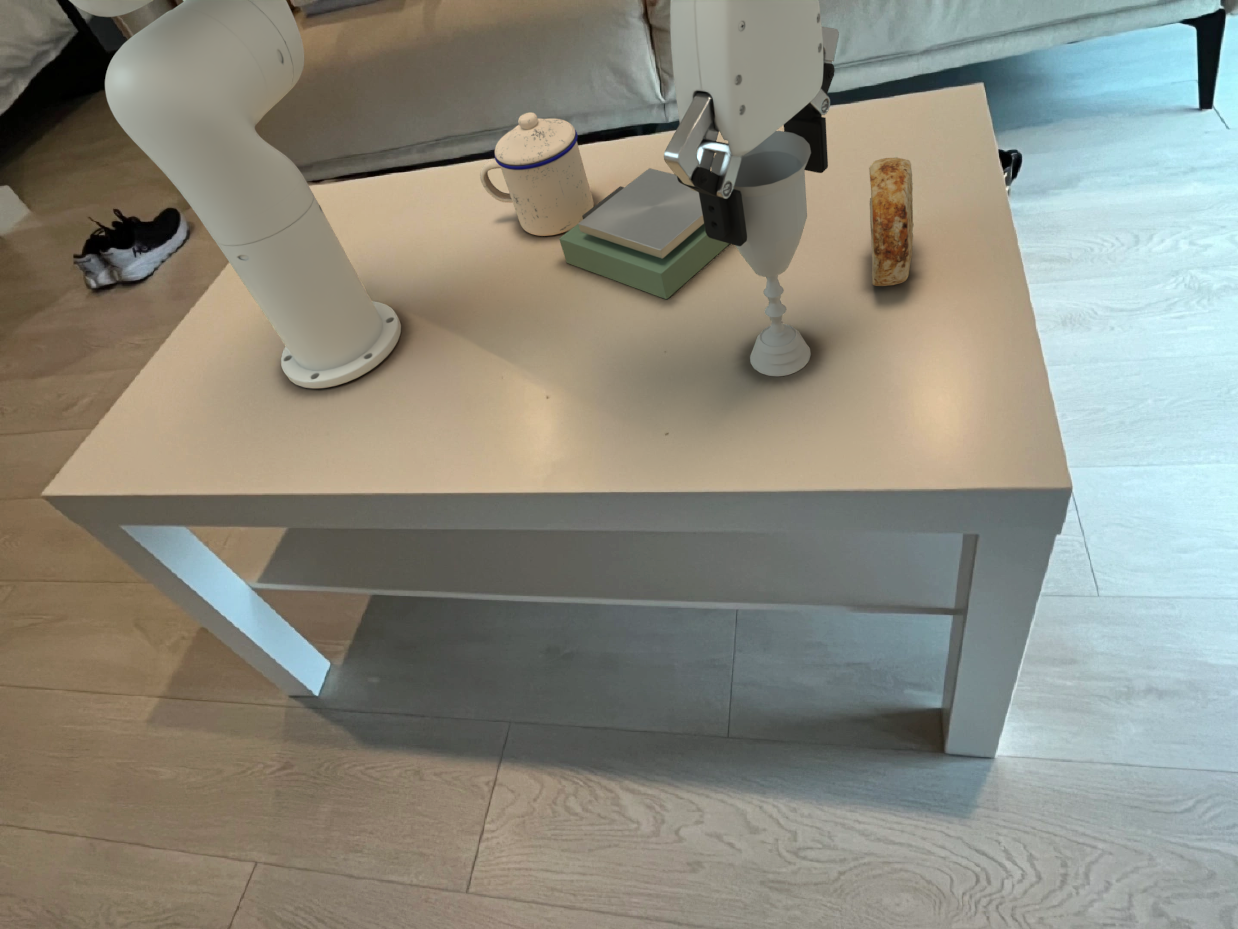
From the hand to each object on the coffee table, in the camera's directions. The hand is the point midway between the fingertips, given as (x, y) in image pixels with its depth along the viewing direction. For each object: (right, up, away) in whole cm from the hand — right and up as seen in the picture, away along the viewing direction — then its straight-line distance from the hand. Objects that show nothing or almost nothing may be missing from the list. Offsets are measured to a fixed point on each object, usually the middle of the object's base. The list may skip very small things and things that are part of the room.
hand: (768, 202), depth 58 cm
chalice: (+3, -10, +11) cm, 15 cm away
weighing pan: (-7, +6, +22) cm, 24 cm away
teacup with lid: (-19, +9, +35) cm, 41 cm away
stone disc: (+14, -1, +15) cm, 20 cm away
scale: (-7, +4, +26) cm, 27 cm away
